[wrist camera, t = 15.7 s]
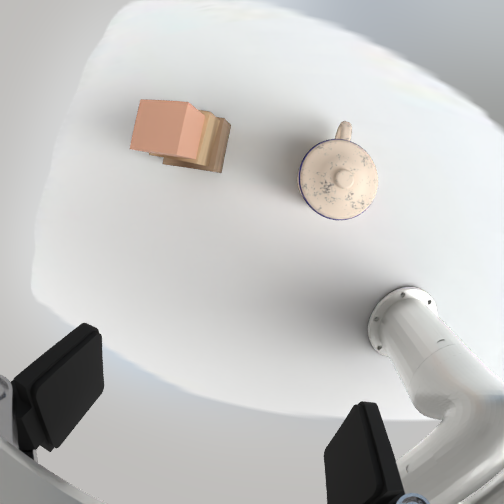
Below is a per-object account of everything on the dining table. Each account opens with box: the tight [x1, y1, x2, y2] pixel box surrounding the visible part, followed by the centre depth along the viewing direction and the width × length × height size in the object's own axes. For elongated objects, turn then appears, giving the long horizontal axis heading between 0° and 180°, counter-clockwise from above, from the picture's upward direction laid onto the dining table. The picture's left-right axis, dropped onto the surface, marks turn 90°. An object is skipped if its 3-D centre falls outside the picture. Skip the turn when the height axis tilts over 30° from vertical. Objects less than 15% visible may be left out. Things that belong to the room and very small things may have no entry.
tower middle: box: [149, 110, 220, 166], centre depth 32 cm, size 6×6×5 cm
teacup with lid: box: [297, 121, 378, 220], centre depth 33 cm, size 12×9×12 cm
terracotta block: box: [130, 99, 205, 159], centre depth 27 cm, size 5×5×6 cm
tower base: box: [163, 117, 231, 173], centre depth 37 cm, size 7×7×5 cm
